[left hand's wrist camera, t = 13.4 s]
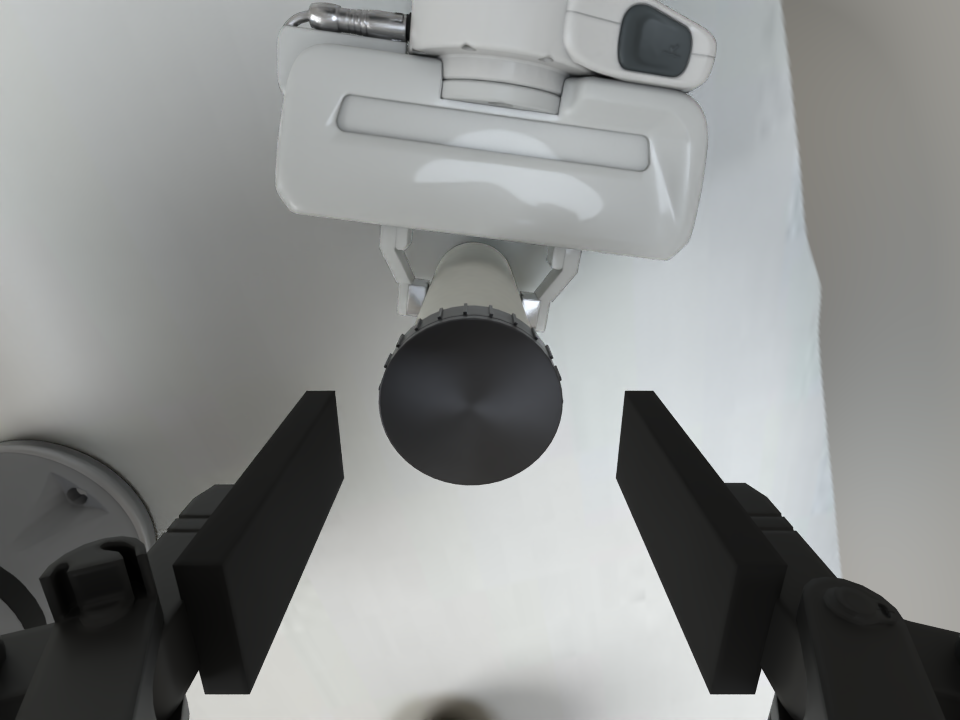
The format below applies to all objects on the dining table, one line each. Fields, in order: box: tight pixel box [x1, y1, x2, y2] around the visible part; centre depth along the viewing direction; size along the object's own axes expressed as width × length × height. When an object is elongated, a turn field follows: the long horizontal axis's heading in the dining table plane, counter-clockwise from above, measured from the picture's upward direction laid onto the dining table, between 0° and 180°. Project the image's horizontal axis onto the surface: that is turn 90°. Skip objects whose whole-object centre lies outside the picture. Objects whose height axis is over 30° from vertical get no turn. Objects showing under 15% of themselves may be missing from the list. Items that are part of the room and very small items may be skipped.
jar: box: [415, 242, 531, 328], centre depth 25 cm, size 5×5×18 cm
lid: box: [379, 303, 563, 485], centre depth 17 cm, size 6×6×2 cm
